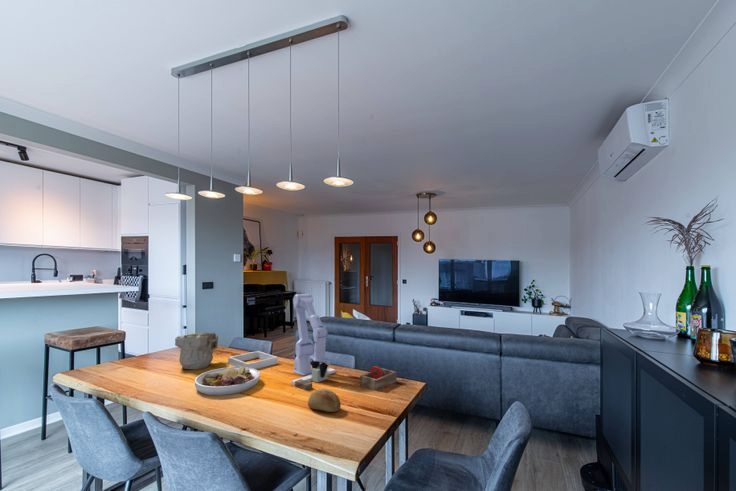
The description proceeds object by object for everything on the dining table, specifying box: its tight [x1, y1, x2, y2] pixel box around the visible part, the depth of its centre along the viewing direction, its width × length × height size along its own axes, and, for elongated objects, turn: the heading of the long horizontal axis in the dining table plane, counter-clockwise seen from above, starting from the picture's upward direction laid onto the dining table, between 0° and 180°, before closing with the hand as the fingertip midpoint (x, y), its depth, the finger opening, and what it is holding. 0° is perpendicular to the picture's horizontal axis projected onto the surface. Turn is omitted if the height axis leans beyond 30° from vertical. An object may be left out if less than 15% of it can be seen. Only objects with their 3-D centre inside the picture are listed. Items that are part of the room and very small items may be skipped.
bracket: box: [369, 365, 392, 388], centre depth 170 cm, size 12×4×8 cm, turn 65°
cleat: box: [294, 379, 313, 391], centre depth 164 cm, size 8×4×2 cm, turn 51°
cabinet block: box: [311, 367, 328, 383], centre depth 174 cm, size 4×7×6 cm, turn 141°
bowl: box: [194, 366, 261, 396], centre depth 165 cm, size 30×30×8 cm
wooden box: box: [359, 367, 397, 392], centre depth 170 cm, size 10×17×5 cm, turn 141°
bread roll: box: [307, 388, 341, 413], centre depth 139 cm, size 10×15×8 cm, turn 68°
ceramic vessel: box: [174, 331, 219, 370], centre depth 197 cm, size 23×24×25 cm
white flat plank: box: [290, 367, 336, 386], centre depth 178 cm, size 4×28×2 cm, turn 141°
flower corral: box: [227, 350, 279, 370], centre depth 201 cm, size 21×20×4 cm
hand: (319, 375), depth 174 cm, fingers closed on cabinet block, 4 cm apart
